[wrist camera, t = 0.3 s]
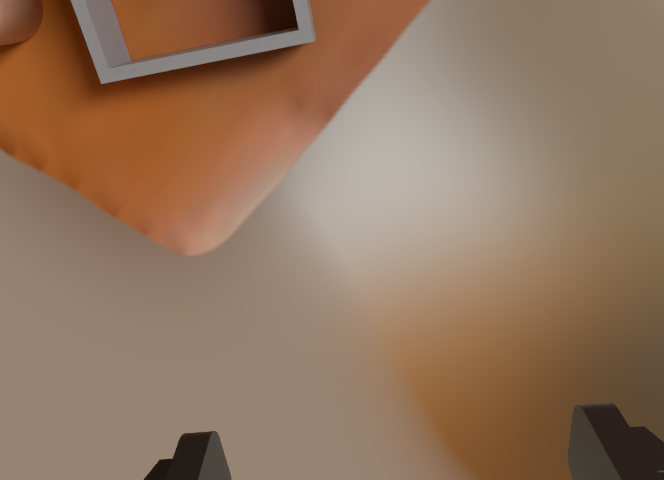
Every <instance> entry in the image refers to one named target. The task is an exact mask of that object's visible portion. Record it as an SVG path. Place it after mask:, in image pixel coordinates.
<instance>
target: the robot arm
mask: <svg viewBox="0 0 664 480" xmlns="http://www.w3.org/2000/svg"><path fill="white" fill-rule="evenodd" d="M568 460H569V467H570V472H571V475H572V479H573V480H664V442H663V441H662V440H660V439H659V438H658V437H656V436H655V435H654V434H653V433H652V432H650V431H649V430H648V429H646V428H645V427H644V426H643V427H629V425H628V424H627V422H626V421H625V419H624V418H623V416H622V414H621V413H620V411H619V410H618V408H617V407H616V406H615V405H614V404H612V403H604V404H603V403H602V404H589V405H576V406H575V407H574V410H573V416H572V425H571V434H570V442H569V450H568ZM144 480H231V475H230V471H229V468H228V465H227V461H226V458H225V455H224V451H223V448H222V445H221V441H220V438H219V435H218V433H217V432H216V431H212V432H198V433H185V434H183V435H182V436H181V437H180V440H179V442H178V445H177V448H176V451H175V454H174V457H173V459H163V460H159V461H158V463H157V464H156V465H155V466H154V467H153V469H152V470H151V471H150V472H149V474H148V475H147V476H146V477H145V479H144Z"/></svg>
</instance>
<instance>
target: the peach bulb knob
mask: <svg viewBox="0 0 664 480" xmlns="http://www.w3.org/2000/svg"><path fill="white" fill-rule="evenodd" d="M42 16H43V9H42V2H41V0H0V46H2V45H8V44H14V43H20V42H23V41H26V40H28V39H30V38H31V37H32V36H33V35H34V34H35V33H36V32H37V31H38V29H39V27H40V25H41V22H42Z"/></svg>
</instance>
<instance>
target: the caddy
mask: <svg viewBox="0 0 664 480" xmlns="http://www.w3.org/2000/svg"><path fill="white" fill-rule="evenodd" d="M71 2H72V5H73V8H74V11H75V13H76V16H77V19H78V22H79V24H80V27H81V30H82V33H83V35H84V38H85V41H86V43H87V46H88V49H89V52H90V54H91V57H92V60H93V63H94V65H95V68H96V71H97V74H98V76H99V79H100V82H101V84H104V83H109V82H114V81H119V80H124V79H129V78H134V77H139V76H144V75H149V74H154V73H159V72H164V71H169V70H174V69H179V68H184V67H189V66H194V65H199V64H204V63H209V62H215V61H220V60H225V59H230V58H235V57H240V56H245V55H250V54H255V53H260V52H265V51H270V50H275V49H280V48H285V47H290V46H295V45H300V44H305V43H310V42H315V39H316V31H315V26H314V21H313V15H312V10H311V5H310V0H293V4H294V9H295V14H296V19H297V24H298V27H295V28H290V29H285V30H280V31H275V32H270V33H265V34H260V35H255V36H250V37H245V38H240V39H235V40H230V41H226V42H221V43H216V44H211V45H206V46H201V47H196V48H191V49H186V50H181V51H176V52H171V53H166V54H161V55H156V56H152V57H147V58H142V59H137V60H132V61H131V58H130V55H129V53H128V50H127V47H126V44H125V41H124V38H123V35H122V32H121V29H120V26H119V23H118V20H117V17H116V14H115V11H114V8H113V5H112V2H111V0H71Z"/></svg>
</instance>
